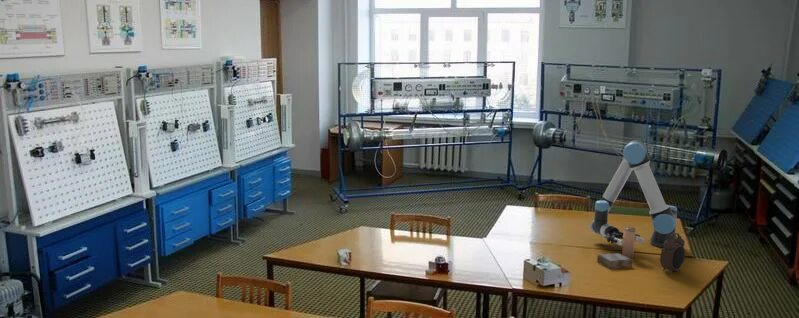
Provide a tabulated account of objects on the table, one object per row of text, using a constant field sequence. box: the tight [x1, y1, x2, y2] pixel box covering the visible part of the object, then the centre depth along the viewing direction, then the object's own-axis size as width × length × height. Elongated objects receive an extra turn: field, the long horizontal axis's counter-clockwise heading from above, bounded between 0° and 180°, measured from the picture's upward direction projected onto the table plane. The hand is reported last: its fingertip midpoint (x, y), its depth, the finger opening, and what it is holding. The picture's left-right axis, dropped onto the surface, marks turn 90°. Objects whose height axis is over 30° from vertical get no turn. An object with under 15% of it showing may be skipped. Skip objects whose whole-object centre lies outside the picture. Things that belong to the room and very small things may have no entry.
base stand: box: [596, 252, 633, 270], centre depth 375 cm, size 13×12×4 cm
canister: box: [621, 226, 636, 259], centre depth 388 cm, size 6×6×16 cm
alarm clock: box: [659, 232, 686, 275], centre depth 363 cm, size 15×7×20 cm, turn 129°
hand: (632, 242), depth 385 cm, fingers open, 13 cm apart
